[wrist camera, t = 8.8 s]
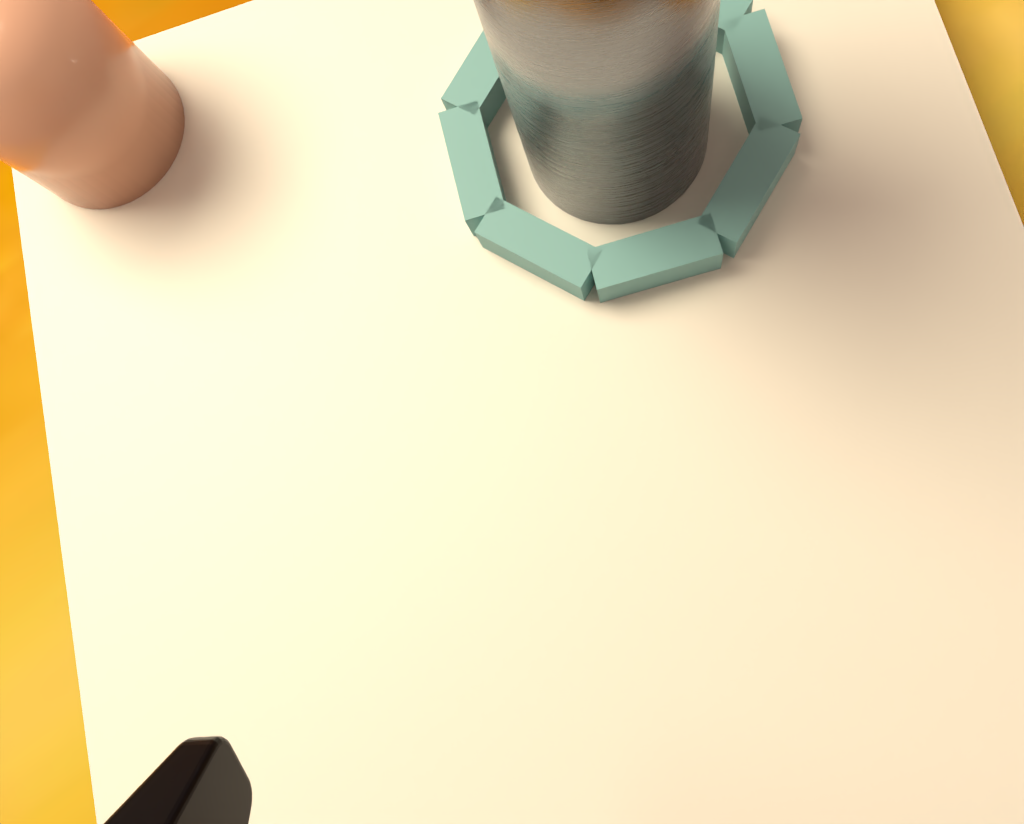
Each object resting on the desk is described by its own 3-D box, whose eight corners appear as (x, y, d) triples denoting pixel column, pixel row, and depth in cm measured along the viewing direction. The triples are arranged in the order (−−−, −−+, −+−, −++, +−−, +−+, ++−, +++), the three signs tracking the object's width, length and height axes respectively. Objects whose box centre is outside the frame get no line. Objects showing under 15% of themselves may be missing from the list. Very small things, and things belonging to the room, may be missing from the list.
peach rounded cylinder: (196, 181, 24) (75, 80, 19) (47, 229, 24) (-108, 142, 19) (171, 38, 25) (49, -93, 20) (28, 87, 25) (-125, -29, 20)
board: (1186, 764, 19) (1278, 797, 16) (169, 976, 22) (94, 1037, 19) (837, -144, 24) (861, -242, 22) (48, 121, 27) (-26, 67, 24)
